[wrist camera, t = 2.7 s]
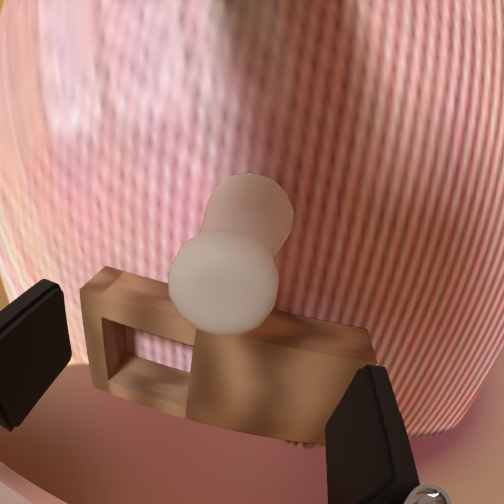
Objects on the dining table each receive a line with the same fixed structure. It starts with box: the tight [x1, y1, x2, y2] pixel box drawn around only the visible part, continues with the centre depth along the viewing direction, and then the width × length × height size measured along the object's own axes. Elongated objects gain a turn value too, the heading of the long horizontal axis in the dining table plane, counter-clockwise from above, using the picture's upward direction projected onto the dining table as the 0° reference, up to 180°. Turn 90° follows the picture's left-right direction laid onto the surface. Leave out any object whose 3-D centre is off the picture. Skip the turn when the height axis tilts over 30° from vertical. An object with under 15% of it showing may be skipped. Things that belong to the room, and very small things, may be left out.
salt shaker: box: [168, 173, 294, 336], centre depth 17 cm, size 6×6×13 cm
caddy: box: [80, 266, 377, 445], centre depth 27 cm, size 24×12×4 cm, turn 78°
